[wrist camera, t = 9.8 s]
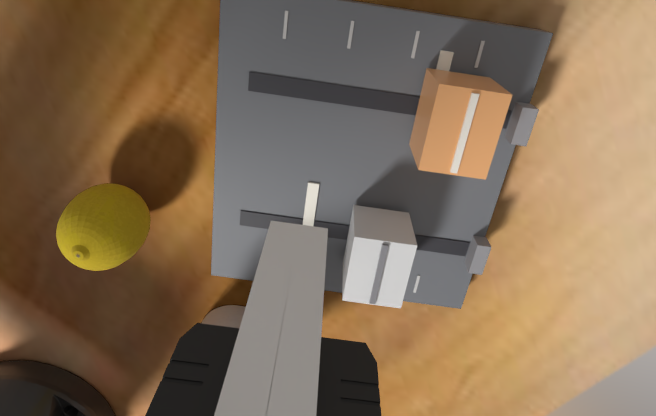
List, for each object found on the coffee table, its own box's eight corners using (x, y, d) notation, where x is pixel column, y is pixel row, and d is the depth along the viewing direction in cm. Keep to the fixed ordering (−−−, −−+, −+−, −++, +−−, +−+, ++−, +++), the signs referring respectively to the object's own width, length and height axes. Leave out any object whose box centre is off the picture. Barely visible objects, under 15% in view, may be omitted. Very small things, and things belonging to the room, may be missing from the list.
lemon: (172, 229, 38) (132, 289, 31) (105, 233, 38) (50, 294, 31) (154, 164, 36) (106, 214, 28) (83, 170, 36) (18, 220, 29)
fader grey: (342, 263, 36) (342, 302, 32) (353, 204, 34) (354, 238, 30) (394, 270, 36) (401, 310, 32) (409, 212, 34) (417, 247, 30)
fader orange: (409, 144, 32) (418, 171, 27) (426, 68, 29) (439, 84, 25) (468, 152, 32) (486, 181, 28) (489, 77, 30) (513, 95, 25)
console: (217, 261, 39) (206, 285, 36) (228, -19, 30) (215, -18, 27) (457, 293, 40) (466, 320, 37) (542, 29, 30) (564, 36, 27)
